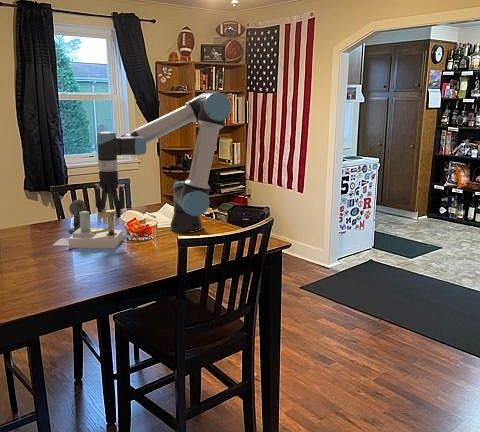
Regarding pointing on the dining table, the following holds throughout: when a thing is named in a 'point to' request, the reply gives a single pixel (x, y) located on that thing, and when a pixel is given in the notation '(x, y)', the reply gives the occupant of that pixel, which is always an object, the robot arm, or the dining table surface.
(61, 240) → the pad
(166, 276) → the dining table surface
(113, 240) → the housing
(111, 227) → the key
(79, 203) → the figurine
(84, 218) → the cover
